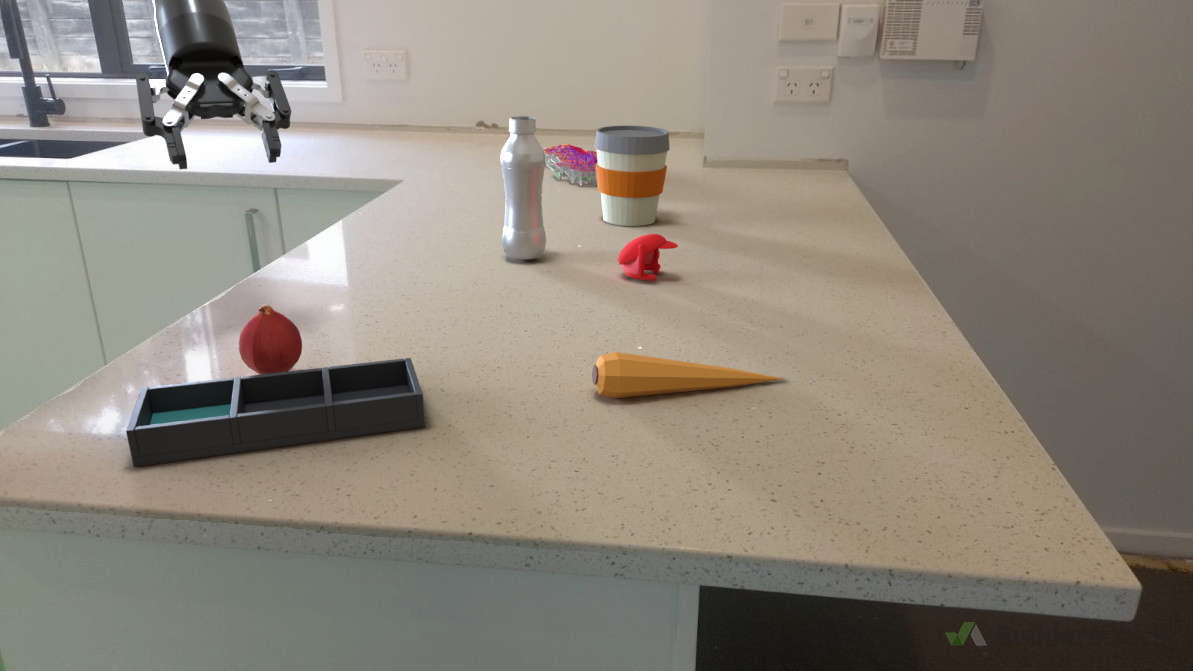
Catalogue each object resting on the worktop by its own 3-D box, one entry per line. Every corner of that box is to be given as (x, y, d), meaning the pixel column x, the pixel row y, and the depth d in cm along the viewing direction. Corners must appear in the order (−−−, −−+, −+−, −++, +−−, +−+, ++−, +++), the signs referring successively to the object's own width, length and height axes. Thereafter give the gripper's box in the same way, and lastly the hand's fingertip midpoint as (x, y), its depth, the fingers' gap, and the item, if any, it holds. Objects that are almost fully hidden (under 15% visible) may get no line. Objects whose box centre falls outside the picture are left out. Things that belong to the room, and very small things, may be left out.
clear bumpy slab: (532, 160, 192) (531, 137, 190) (595, 158, 196) (596, 135, 194) (560, 188, 165) (560, 162, 163) (633, 186, 169) (634, 160, 167)
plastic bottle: (504, 265, 119) (501, 121, 111) (499, 252, 125) (496, 114, 118) (549, 263, 120) (549, 121, 113) (542, 250, 126) (542, 114, 119)
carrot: (593, 407, 81) (602, 376, 78) (586, 373, 84) (595, 341, 81) (783, 410, 85) (799, 380, 82) (770, 377, 89) (785, 347, 86)
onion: (245, 370, 85) (233, 296, 82) (304, 364, 87) (295, 291, 84) (243, 395, 80) (231, 317, 77) (307, 387, 82) (297, 310, 79)
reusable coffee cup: (680, 219, 145) (685, 131, 139) (633, 233, 136) (637, 139, 131) (624, 206, 153) (628, 122, 147) (577, 218, 144) (579, 130, 138)
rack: (133, 467, 68) (125, 431, 67) (147, 420, 75) (140, 387, 74) (424, 426, 75) (422, 393, 74) (412, 388, 82) (410, 357, 81)
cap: (622, 285, 112) (624, 241, 110) (613, 271, 118) (615, 229, 115) (680, 283, 114) (682, 240, 111) (668, 269, 119) (671, 228, 117)
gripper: (118, 9, 84) (148, 144, 79) (268, 10, 90) (304, 134, 85) (126, 61, 90) (154, 188, 85) (265, 58, 96) (299, 176, 92)
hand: (229, 161), depth 85 cm, fingers open, 8 cm apart
